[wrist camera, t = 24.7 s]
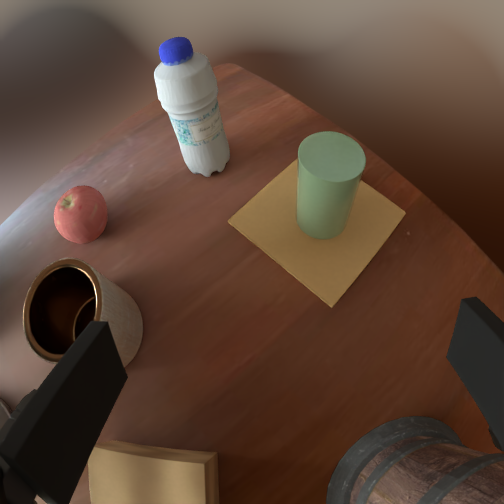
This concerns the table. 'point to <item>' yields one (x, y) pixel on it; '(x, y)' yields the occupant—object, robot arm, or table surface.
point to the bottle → (192, 105)
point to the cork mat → (311, 249)
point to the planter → (78, 310)
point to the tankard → (416, 467)
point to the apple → (81, 214)
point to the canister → (327, 183)
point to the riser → (151, 475)
